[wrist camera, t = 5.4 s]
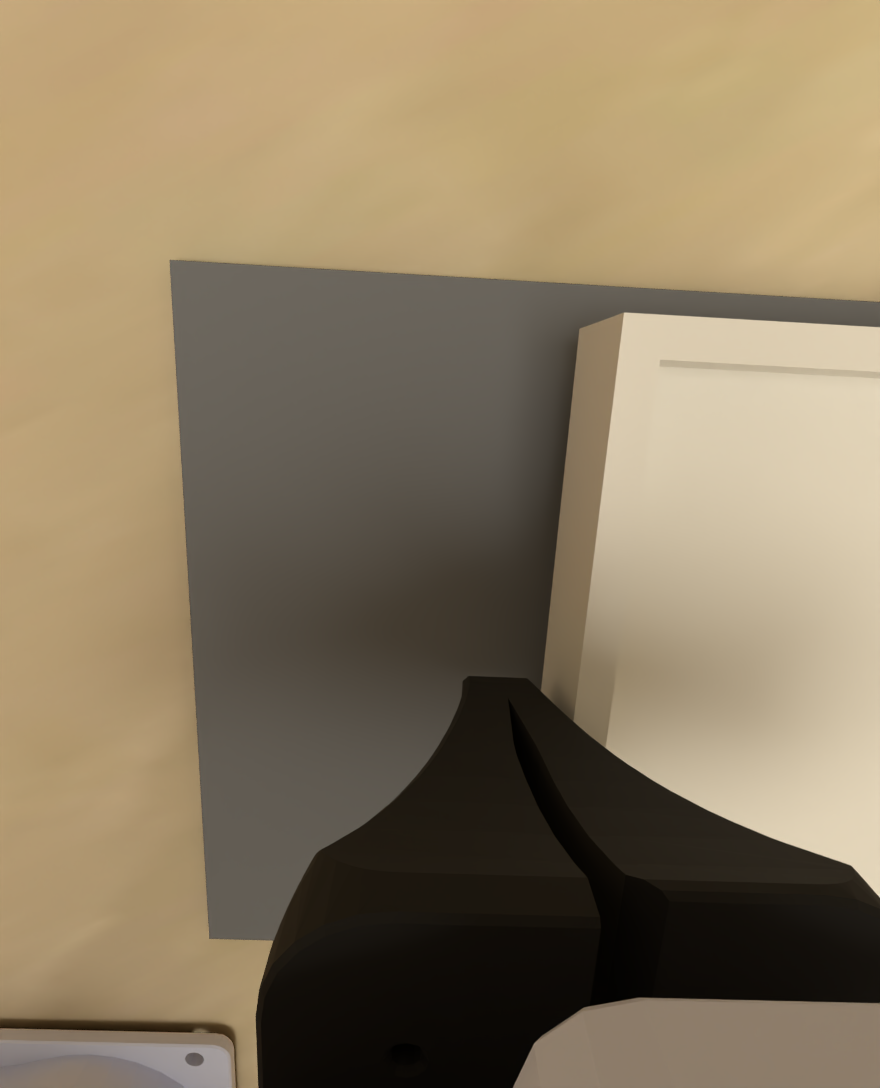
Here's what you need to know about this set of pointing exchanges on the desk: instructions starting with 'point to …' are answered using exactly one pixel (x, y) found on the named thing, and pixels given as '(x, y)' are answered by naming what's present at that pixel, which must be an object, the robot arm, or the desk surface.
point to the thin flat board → (369, 529)
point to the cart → (728, 570)
